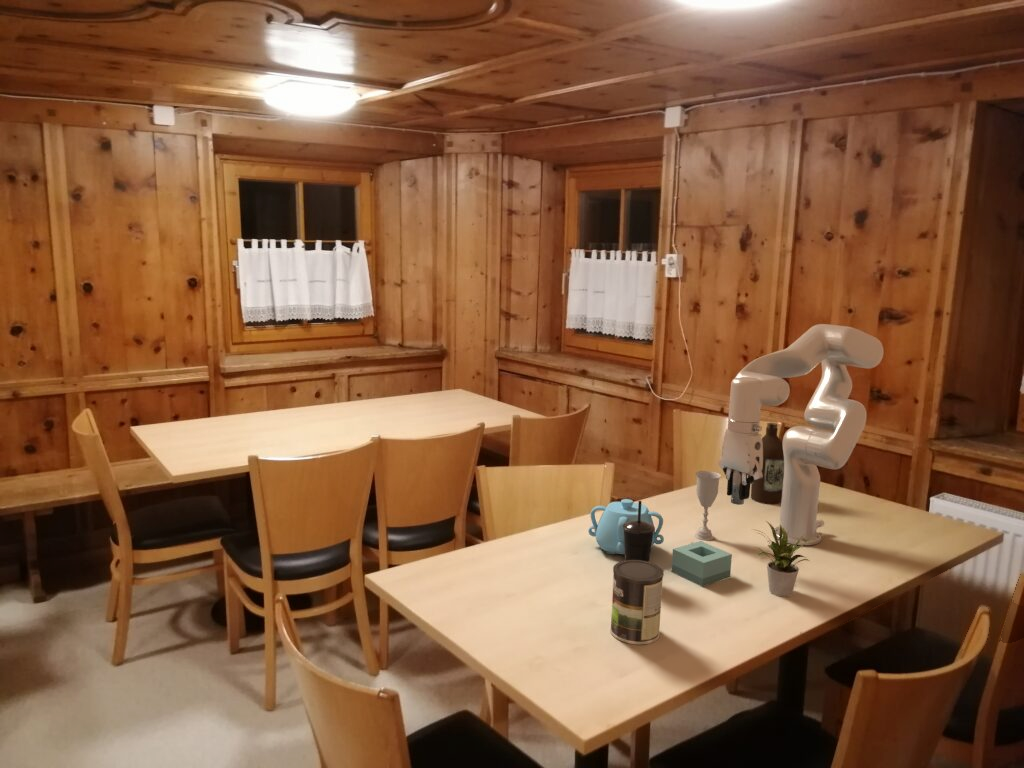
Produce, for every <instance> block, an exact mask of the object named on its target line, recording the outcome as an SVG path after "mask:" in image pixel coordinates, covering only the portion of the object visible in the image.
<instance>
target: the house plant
mask: <svg viewBox="0 0 1024 768" xmlns="http://www.w3.org/2000/svg"><path fill="white" fill-rule="evenodd" d="M765 522H766V523H767V524H768V526H769V527H770V529H771V533H772V536H773V539H774V541H772V540H771V539H770V538H768V537H767V536H766V535H765V534H764V532H762V531H761V530H758V529H755V531H757V534H758V535H759V534H760V535H761V536H763V537H764V538H766V537H767V538H768V539H769V540H768V539H767V538H766V541H767V543H768V544H767V547H768V548H769V549H770V550H771V551H772V553H773V554H772V553H770V552H767V551H763V550H762V548H760V547H756V546H754V549H755V548H756V549H759V550H760V551H761V552H759V553H758V554H757V556H756V557H760V556H762V555H763V556H764V555H770V556H771V557H773V560H770V561H769V562H767V564H766V568H767V569H766V571H767V579H768V590H769V593H771V594H772V595H774V596H778V597H790V596H792V594H793V592H794V588H795V585H796V581H797V577H798V573H799V567H798V566H797V565H796V564H798V563H800V562H803V561H809V562H810V560H809V559H807V557H806V556H804V555H803V554H796V552H797V551H798V549H800V548H801V549H802V547H804V546H806V545H805V544H806V543H808V542H810V541H815V540H810V541H807V542H806V543H804V544H802V545H798V543H799V542H800V541H801V539H802V537H803V536H804V535H803V536H802V537H801V538H800V539H799V540H798V542H797V543H796V544H790V543H788V537H787V535H788V533H786V531H785V529H784V528H782V526H781V524H780V523H779V525H780V532H779V539H777V535H776V532H775V529H774V526H773V525H772V524H771V523H770V522H769V521H766V520H765ZM751 530H753V529H751ZM789 531H790V530H789ZM759 532H760V533H759ZM764 535H765V536H764ZM782 536H783V538H782ZM794 554H795V555H794ZM798 558H802V559H800V560H798V561H796V560H797V559H798ZM794 561H796V562H795V563H793V562H794Z"/></svg>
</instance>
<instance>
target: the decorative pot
mask: <svg viewBox="0 0 1024 768" xmlns="http://www.w3.org/2000/svg"><path fill="white" fill-rule="evenodd" d="M638 504H639V502H638V503H637V502H635V501H633V500H632V499H629V498H628V499H627V498H623V499H621V501H612V502H610V503H609V504H607V506H604V505H596V506H595V507H593V508H592V509H591V511H590V519H591V523H592V526H589V527H588V535H590V536H591V537H595V541H596V542H597V544H598V546H599V548H601V550H602V551H605V552H606V554H608V555H615V554H618V555H624V556H625V548H624V529H623V524H624V523H626V522H630V521H634V520H638ZM596 511H602V514H601V517H600V518H599V521H598V522H597V520H596V519H597V518H596V516H595V515H596V514H595V513H596ZM652 516H653V517H656V518H657V519H658V525H657V528H656V529H655V531H654V532H653V538H652V545H651V549H652V548H653V546H654V545H661V544H663V543H664V540H665V538H664V536H663V535H662V534H660V532H661V530H662V527H663V525H664V518H663V516H662V515H661V514H660V513H659V512H657V511H654V510H651V511H649V509H648V507H647V506H646V505H644V504H642V503H641V521H645V522H647V523H650V524H652V525H653V526H654V527H655V524H654V521H653V518H652ZM593 530H594V531H593ZM658 538H659V540H658Z"/></svg>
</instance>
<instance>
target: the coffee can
mask: <svg viewBox="0 0 1024 768" xmlns="http://www.w3.org/2000/svg"><path fill="white" fill-rule="evenodd" d="M612 570H613V579H612V580H613V581H612V582H613V583H612V600H611V601H612V602H611V616H610V617H611V622H610V634H611V635H612V637H614V638H615V639H616V640H618V641H620V642H623V643H626V644H629V645H637V646H639V645H643V646H644V645H649V644H650V645H651V644H653V643H654V642H656V641H657V640H658V639H659V638H660V625H661V611H662V610H661V608H662V596H663V595H662V594H663V579H664V576H665V575H664V573H665V572H664V569H663V568H662V567H661V566H659V565H658V564H655V563H653V562H650V561H649V562H647V561H642V560H625V559H624V560H622V561H619V562H616V563H615V564H614V565H613V567H612Z"/></svg>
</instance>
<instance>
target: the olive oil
mask: <svg viewBox="0 0 1024 768" xmlns="http://www.w3.org/2000/svg"><path fill="white" fill-rule="evenodd" d="M778 429H779V428H778V423H776V422H767V423H766V428H765V435H764V436H762V442H763V467H762V471H761V472H762V474H763V477H762V478H760V479H756V480H755V481H754V482H753V483H752V484H750V498H751V500H753V501H755V502H758V503H761V504H764V505H765V504H767V505H768V504H769V505H775V504H781V501H782V490H783V479H784V454H783V440H781V439H780V438H779V437H778ZM754 474H755V473H754V471H753V475H754Z"/></svg>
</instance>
